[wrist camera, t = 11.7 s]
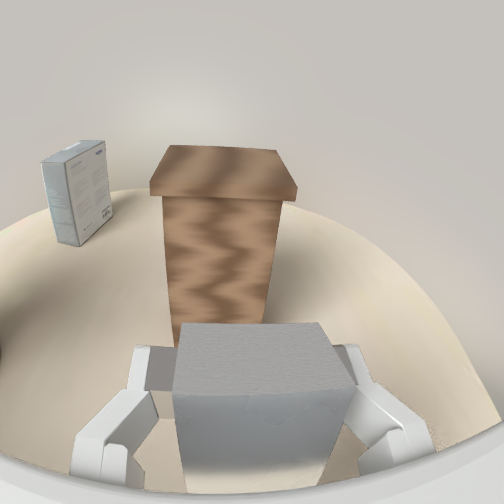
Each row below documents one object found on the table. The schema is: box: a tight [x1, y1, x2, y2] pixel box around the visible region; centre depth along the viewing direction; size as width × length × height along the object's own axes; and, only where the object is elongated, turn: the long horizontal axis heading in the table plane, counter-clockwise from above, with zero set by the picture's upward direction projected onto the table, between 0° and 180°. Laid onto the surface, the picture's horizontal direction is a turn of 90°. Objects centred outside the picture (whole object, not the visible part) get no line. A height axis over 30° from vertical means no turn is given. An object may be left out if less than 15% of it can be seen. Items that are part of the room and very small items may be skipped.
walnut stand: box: [150, 145, 298, 348], centre depth 41 cm, size 14×13×26 cm
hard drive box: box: [41, 140, 113, 247], centre depth 62 cm, size 16×8×20 cm, turn 170°
